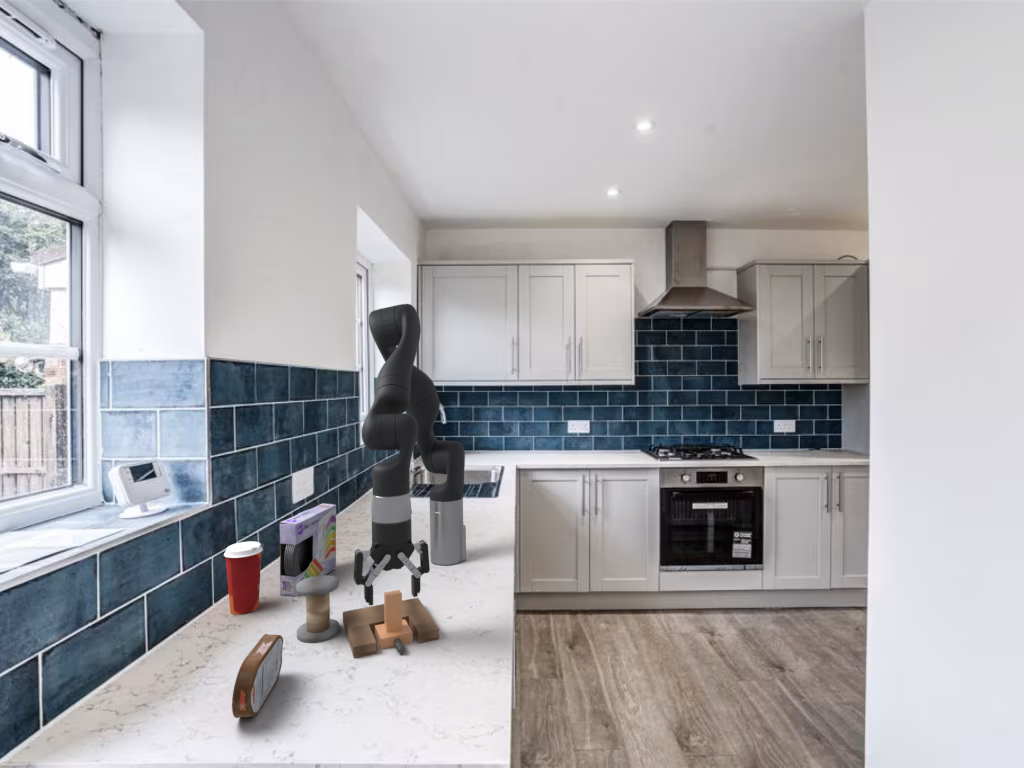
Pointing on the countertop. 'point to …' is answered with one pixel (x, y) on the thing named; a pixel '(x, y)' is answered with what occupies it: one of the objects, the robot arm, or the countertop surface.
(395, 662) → the countertop surface
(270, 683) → the tin
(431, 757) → the countertop surface
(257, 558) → the paper cup
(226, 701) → the countertop surface
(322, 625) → the bobbin
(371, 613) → the brown flat u-shaped block
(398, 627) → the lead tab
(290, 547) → the cake pan box
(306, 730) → the countertop surface
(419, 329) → the robot arm
